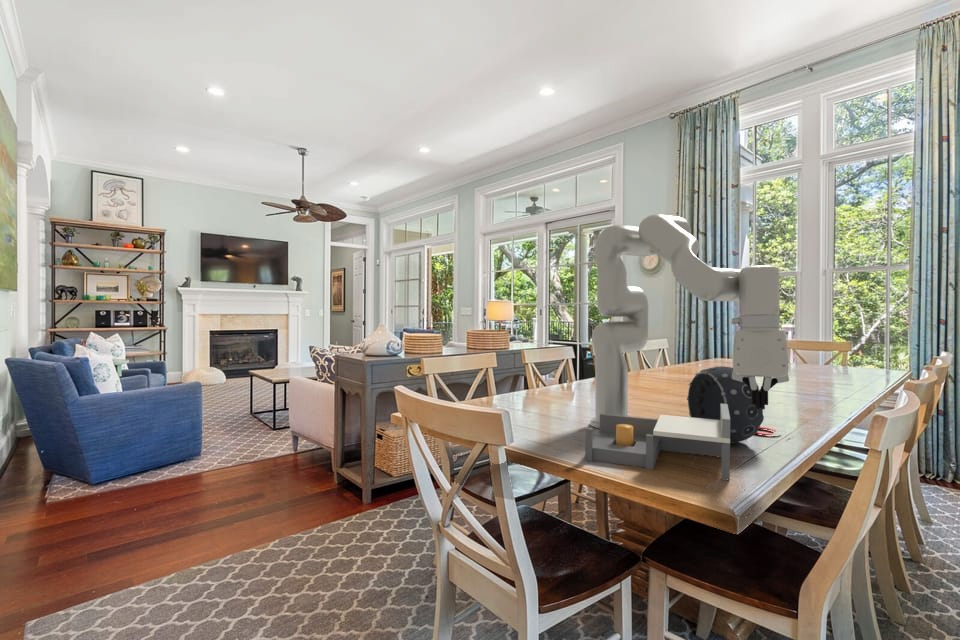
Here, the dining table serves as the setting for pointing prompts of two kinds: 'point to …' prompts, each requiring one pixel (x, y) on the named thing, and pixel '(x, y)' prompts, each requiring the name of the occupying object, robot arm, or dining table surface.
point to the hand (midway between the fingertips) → (759, 407)
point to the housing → (645, 444)
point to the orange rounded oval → (624, 435)
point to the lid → (695, 427)
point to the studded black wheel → (724, 401)
